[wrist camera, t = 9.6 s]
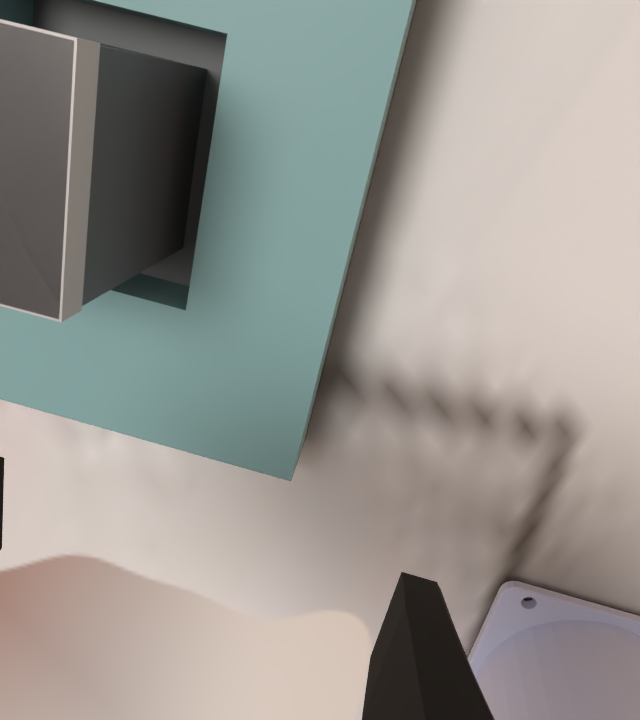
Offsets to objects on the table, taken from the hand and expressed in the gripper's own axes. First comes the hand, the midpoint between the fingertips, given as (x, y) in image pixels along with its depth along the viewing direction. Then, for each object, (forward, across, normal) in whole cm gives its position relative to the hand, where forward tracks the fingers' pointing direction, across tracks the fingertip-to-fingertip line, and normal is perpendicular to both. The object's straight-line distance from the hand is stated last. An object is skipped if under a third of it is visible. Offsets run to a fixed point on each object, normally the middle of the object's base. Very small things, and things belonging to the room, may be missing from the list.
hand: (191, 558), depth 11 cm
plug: (+9, +6, -5) cm, 12 cm away
